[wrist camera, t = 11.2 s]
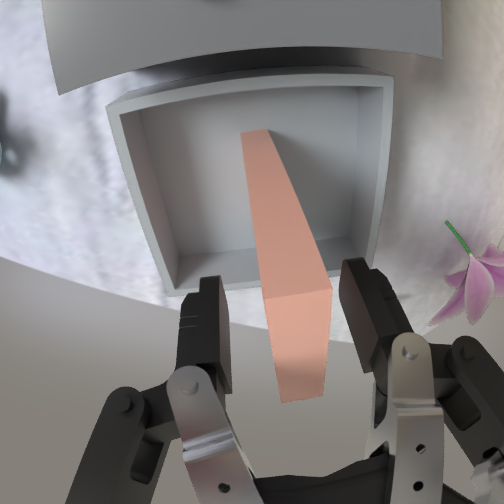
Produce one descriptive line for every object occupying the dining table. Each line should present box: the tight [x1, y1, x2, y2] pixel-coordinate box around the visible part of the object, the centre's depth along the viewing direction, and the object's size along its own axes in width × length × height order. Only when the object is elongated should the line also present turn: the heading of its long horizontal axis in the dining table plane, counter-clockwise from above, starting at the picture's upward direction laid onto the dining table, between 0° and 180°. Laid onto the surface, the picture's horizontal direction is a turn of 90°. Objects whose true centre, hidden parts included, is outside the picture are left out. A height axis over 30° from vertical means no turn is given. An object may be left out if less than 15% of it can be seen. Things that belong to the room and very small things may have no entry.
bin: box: [105, 66, 394, 297], centre depth 18 cm, size 14×13×4 cm
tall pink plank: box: [240, 129, 333, 403], centre depth 14 cm, size 2×6×13 cm, turn 8°
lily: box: [428, 221, 504, 326], centre depth 22 cm, size 12×12×10 cm
